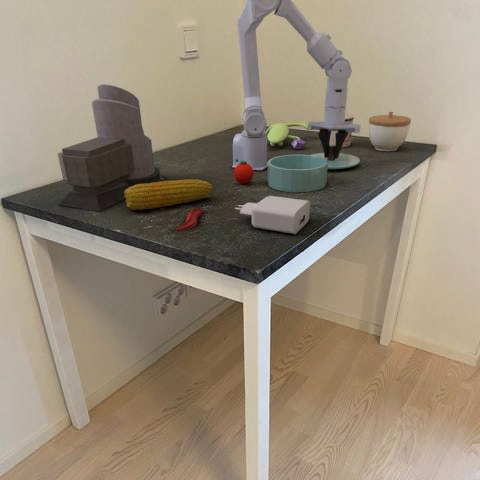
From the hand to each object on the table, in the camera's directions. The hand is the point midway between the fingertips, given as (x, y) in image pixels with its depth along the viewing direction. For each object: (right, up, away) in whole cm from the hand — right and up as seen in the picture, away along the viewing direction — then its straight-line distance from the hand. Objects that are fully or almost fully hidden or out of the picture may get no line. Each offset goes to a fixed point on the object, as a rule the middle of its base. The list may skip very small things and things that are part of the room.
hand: (331, 157), depth 139 cm
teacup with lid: (+7, +12, +23) cm, 27 cm away
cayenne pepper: (-37, -26, -35) cm, 57 cm away
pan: (-12, -11, -14) cm, 21 cm away
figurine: (-11, +14, +26) cm, 32 cm away
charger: (-20, -27, -37) cm, 50 cm away
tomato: (-26, -9, -14) cm, 31 cm away
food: (-43, -20, -26) cm, 54 cm away
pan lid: (0, -1, +1) cm, 1 cm away
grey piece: (-58, -14, -15) cm, 62 cm away
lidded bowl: (+21, +8, +16) cm, 27 cm away
